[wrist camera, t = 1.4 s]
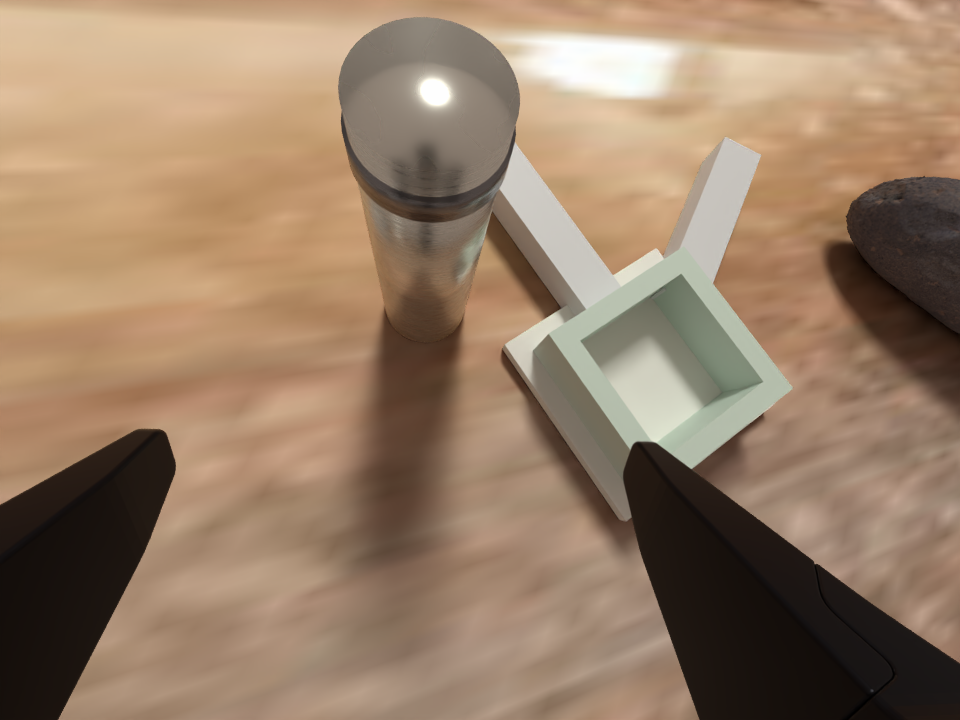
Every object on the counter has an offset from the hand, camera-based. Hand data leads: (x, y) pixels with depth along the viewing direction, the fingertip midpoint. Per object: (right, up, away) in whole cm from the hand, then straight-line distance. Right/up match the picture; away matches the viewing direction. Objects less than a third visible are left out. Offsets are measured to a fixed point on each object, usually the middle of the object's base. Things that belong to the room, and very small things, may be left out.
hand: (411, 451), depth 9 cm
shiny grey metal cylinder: (-1, +5, +15) cm, 15 cm away
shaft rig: (+10, +7, +17) cm, 20 cm away
